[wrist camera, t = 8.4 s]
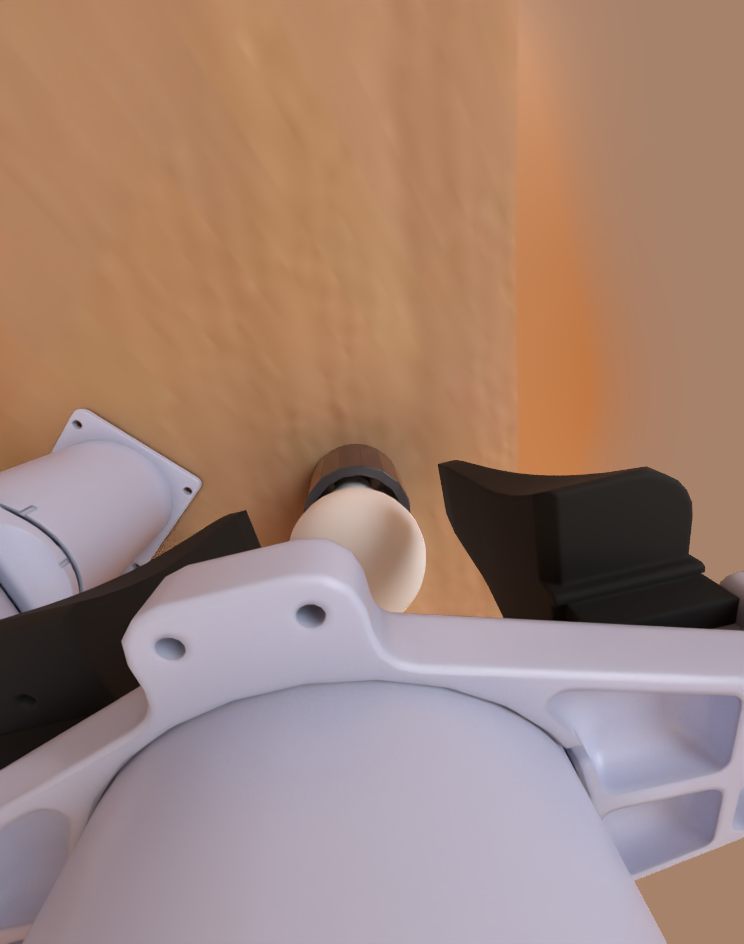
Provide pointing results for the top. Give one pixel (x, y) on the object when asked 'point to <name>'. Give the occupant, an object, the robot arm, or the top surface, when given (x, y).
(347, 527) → the lightbulb
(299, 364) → the top surface
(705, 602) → the robot arm
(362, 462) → the cup
